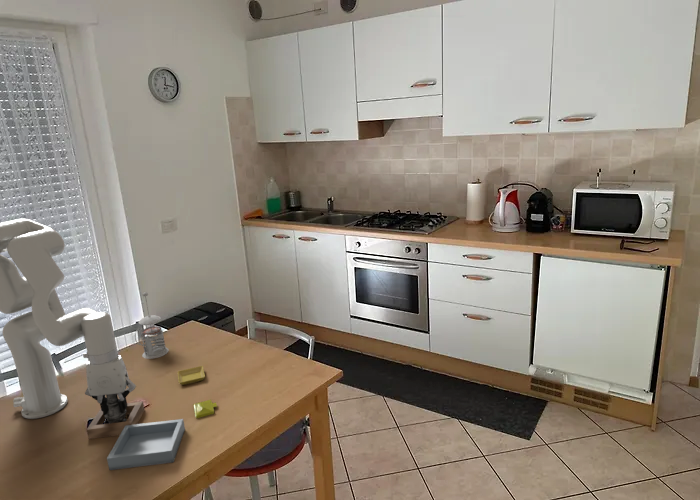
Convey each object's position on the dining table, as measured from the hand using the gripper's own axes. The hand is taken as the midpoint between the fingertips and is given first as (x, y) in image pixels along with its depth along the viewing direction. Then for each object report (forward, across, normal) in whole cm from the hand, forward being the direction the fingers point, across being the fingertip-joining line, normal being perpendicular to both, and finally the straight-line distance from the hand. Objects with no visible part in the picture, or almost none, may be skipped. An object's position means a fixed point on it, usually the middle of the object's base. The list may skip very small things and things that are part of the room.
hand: (115, 410), depth 142 cm
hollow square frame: (+4, 0, 0) cm, 4 cm away
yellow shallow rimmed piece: (+5, +17, +23) cm, 29 cm away
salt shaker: (+5, 0, 0) cm, 5 cm away
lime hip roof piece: (+5, +25, +2) cm, 26 cm away
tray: (+4, +13, -14) cm, 20 cm away
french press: (+5, -2, +46) cm, 46 cm away
